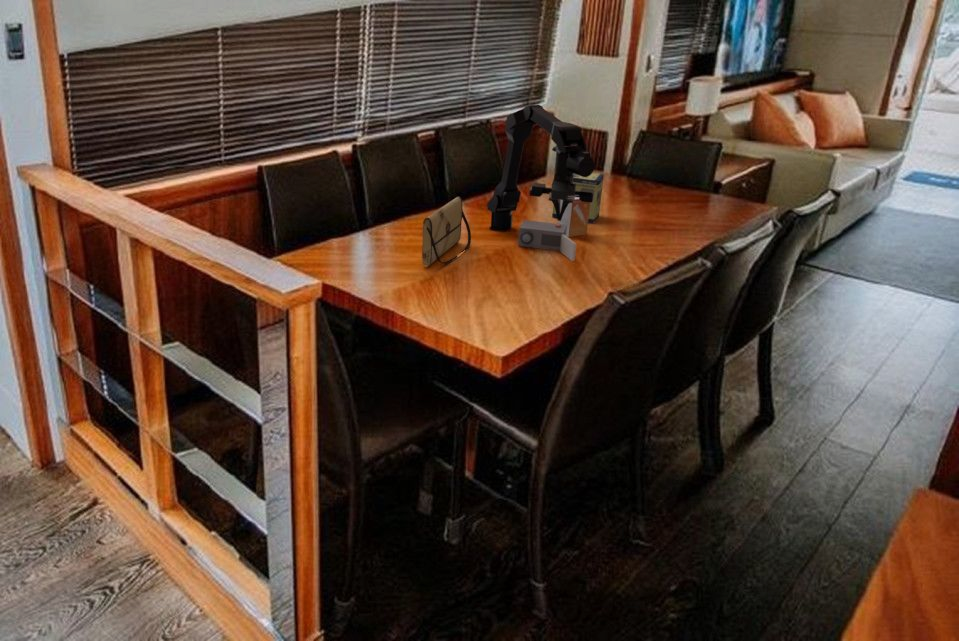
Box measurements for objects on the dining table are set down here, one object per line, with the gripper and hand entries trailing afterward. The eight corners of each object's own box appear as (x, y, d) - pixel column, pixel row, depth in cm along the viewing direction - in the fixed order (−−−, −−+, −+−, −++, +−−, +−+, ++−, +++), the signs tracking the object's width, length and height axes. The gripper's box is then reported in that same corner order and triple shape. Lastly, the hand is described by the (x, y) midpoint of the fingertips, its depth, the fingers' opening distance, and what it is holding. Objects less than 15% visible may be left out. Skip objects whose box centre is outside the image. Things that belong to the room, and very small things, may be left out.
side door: (574, 260, 241) (576, 243, 238) (571, 261, 240) (573, 243, 238) (562, 250, 249) (564, 234, 247) (559, 251, 249) (561, 234, 246)
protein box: (594, 223, 278) (599, 180, 272) (551, 217, 283) (555, 174, 277) (599, 216, 288) (604, 174, 281) (558, 210, 292) (562, 168, 286)
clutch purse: (442, 272, 226) (443, 221, 220) (419, 268, 228) (420, 218, 222) (475, 243, 252) (477, 197, 246) (454, 239, 254) (456, 194, 248)
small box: (568, 237, 262) (572, 199, 256) (556, 232, 266) (560, 194, 261) (587, 234, 266) (591, 197, 261) (575, 229, 271) (579, 192, 265)
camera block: (517, 247, 250) (518, 227, 247) (522, 237, 259) (524, 218, 257) (561, 252, 247) (563, 232, 245) (565, 242, 257) (567, 222, 254)
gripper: (528, 171, 226) (524, 224, 232) (593, 178, 223) (587, 231, 229) (534, 163, 236) (530, 214, 242) (597, 170, 233) (591, 221, 239)
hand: (559, 220), depth 238 cm, fingers closed
